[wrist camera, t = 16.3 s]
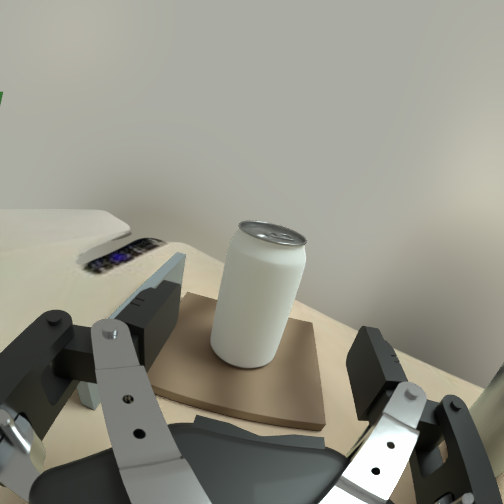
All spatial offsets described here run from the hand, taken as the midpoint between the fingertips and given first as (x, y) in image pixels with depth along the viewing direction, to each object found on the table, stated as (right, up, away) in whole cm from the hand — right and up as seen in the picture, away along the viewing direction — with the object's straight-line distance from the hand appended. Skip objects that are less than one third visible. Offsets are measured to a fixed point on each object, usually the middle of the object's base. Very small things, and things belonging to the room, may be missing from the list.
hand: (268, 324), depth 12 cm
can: (-2, -7, +15) cm, 16 cm away
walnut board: (-2, -7, +15) cm, 17 cm away
